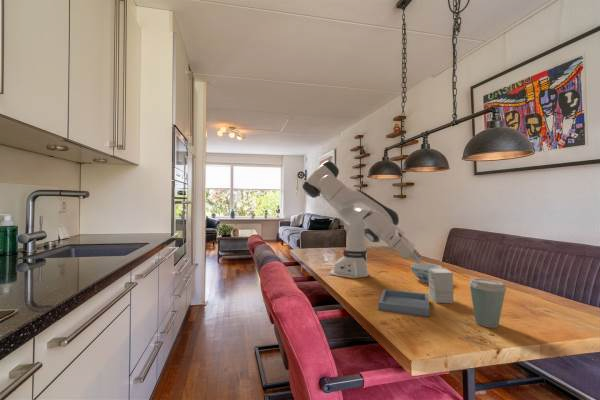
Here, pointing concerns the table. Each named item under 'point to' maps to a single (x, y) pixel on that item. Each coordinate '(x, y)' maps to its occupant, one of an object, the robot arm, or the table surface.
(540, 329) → the table surface
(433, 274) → the supplement box
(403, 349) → the table surface
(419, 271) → the chinaware
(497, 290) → the disposable coffee cup
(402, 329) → the table surface
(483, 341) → the table surface
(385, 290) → the tray
